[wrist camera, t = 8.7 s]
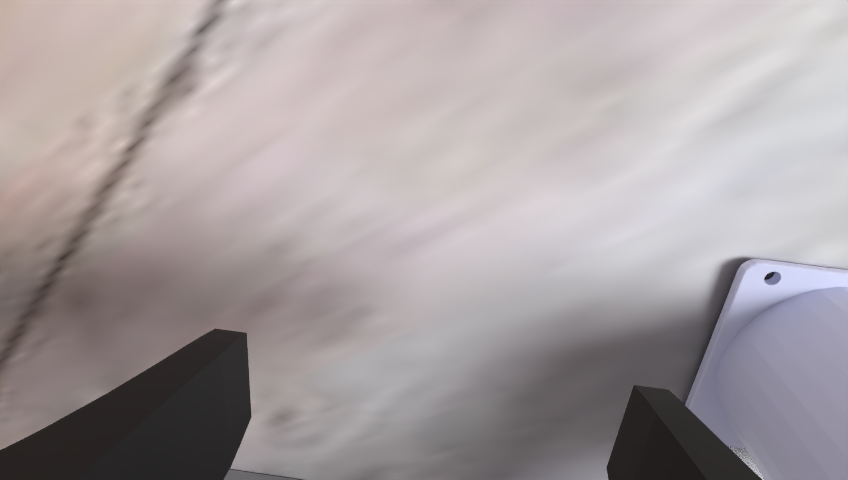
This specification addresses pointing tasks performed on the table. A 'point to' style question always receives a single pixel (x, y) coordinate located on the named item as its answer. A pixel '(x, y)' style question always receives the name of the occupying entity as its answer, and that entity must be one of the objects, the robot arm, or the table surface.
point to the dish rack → (251, 476)
